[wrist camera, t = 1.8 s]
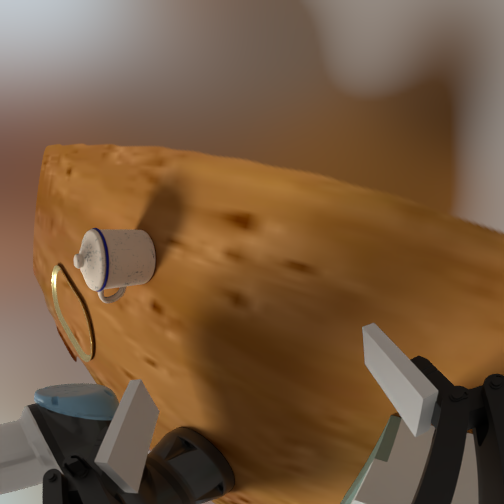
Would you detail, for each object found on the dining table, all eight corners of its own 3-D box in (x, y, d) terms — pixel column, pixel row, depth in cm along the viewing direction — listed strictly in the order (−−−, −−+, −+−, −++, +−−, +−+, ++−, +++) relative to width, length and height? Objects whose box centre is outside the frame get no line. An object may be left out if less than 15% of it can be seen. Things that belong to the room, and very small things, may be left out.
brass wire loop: (56, 254, 75) (52, 255, 73) (97, 318, 57) (91, 319, 56) (55, 304, 80) (52, 305, 78) (97, 374, 62) (92, 375, 61)
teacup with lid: (132, 221, 45) (69, 220, 35) (162, 239, 40) (89, 241, 30) (122, 285, 48) (64, 293, 38) (150, 311, 43) (85, 324, 33)
